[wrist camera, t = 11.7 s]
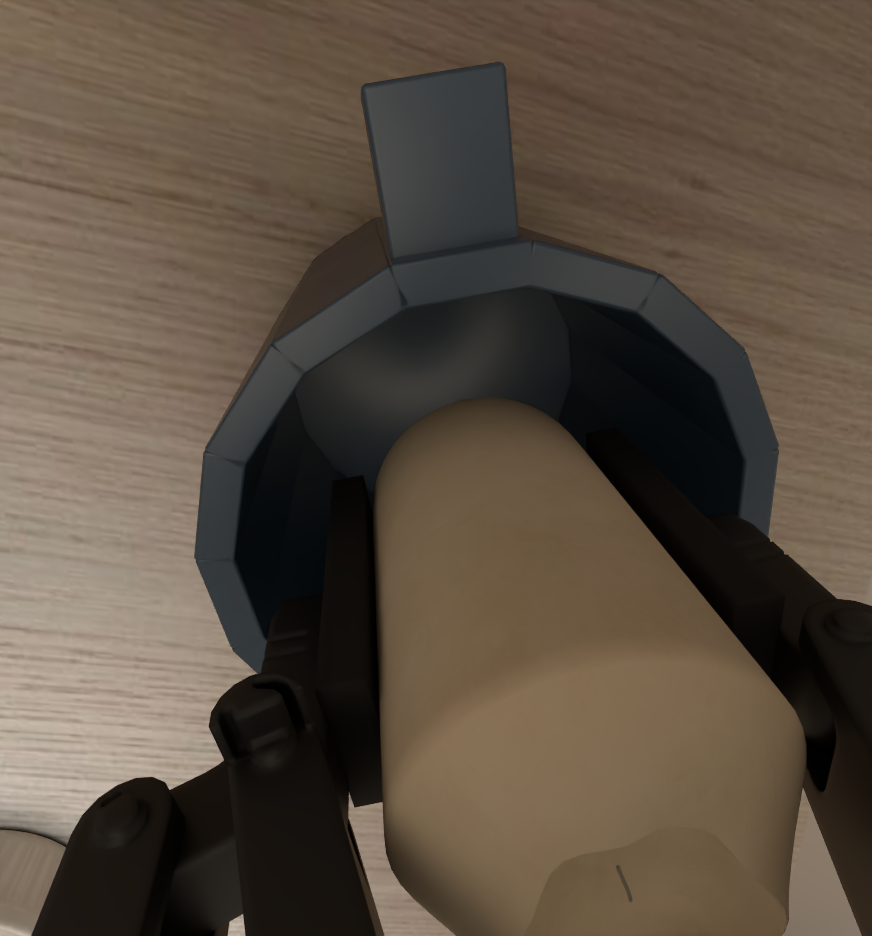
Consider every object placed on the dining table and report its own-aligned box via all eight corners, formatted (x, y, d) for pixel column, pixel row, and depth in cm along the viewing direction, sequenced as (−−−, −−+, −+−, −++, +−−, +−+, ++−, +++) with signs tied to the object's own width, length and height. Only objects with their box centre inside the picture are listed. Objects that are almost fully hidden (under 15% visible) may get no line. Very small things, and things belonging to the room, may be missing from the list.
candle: (600, 393, 14) (996, 754, 5) (569, 579, 17) (808, 1041, 8) (369, 394, 14) (389, 805, 5) (372, 588, 16) (389, 1101, 7)
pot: (575, 94, 20) (838, -1, 9) (591, 532, 28) (740, 761, 17) (208, 156, 20) (16, 133, 9) (331, 582, 28) (313, 851, 17)
